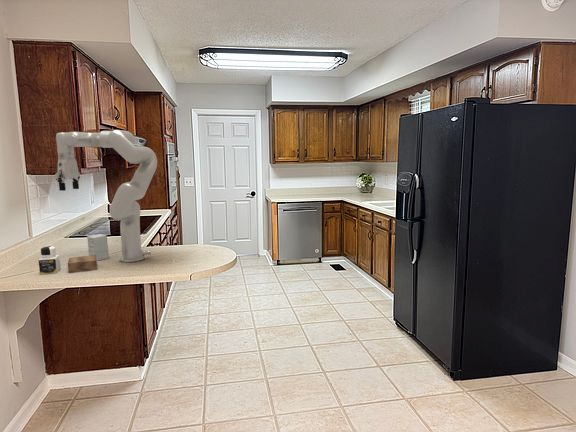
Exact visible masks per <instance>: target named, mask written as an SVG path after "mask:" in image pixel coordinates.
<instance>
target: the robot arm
mask: <svg viewBox="0 0 576 432" xmlns="http://www.w3.org/2000/svg"><path fill="white" fill-rule="evenodd" d="M55 139H56V147H57V148H56V149H57V172H56V173H55V174H54V178H55V179H56V181H57V183H58V188H59V189H58V190H59V191H66V190H67V187H66V183H65V181H66V180H72V181H71V182H72V190H79V189H80V187H79V186H80V184H79V181H80V179H81V172H79V167H78V162H77V160H76V158H75V149H74V148H81V147H82V148H103V149H106V148H108V149H109V148H110V149H111V148H112V149H113V150H114V151H115V152H116V153H117V154H119V155H120V156H121V157H122V158H123V159H124V160H125V161H126V162H128V163H130V164H132V165H133V164H134V165H136V164H139V166H138V167H137V169H136V170H135V172H134V173H133V177H132V179H131V180H130V181H127V182H124V183H121V185H120V186H119V187H118V188H117V190H116V191H115V194H114V197H113V199H112V202H111V204H110V206H109V215H110V217H111V218H112V219H113V220H114V221H120V224H119V226H120V241H121V242H120V244H121V254H122V256H121V257H119V262H123V263H135V262H139V261H140V262H141V261H143V260H145V258H146V255H152V252H151V250H143V249H142V240H141V223H140V222H141V221H140V220H141V219H140V218H141V207H140V204H139V202H137V201H138V200H141V199H143V198H144V197H145V195H146V193H147V190H148V188H149V186H150V184H151V181H152V179H153V176H154V174H155V172H156V170H157V169H158V158H157V155H156V153H155V152H154V150H153V149H151V148H150V147H147V146H142V145H137V146H136V145H135V144H134V143H135V137H134V135H133V133H132V132H130V131H128V130H122V129H121V130H120V129H113V130H101V131H100V132H83V131H69V132H64V131H63V132H62V131H61V132H57V133H56V135H55Z"/></svg>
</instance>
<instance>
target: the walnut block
mask: <svg viewBox="0 0 576 432" xmlns="http://www.w3.org/2000/svg"><path fill="white" fill-rule="evenodd" d="M97 262H98V261H97V260H96V255H91V256H89V255H83V256H76V257H69V258H68V262H67V269H68V274H72V273H73V274H74V273H81V272H91V271H97V270H98V263H97Z"/></svg>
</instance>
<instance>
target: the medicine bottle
mask: <svg viewBox="0 0 576 432" xmlns="http://www.w3.org/2000/svg"><path fill="white" fill-rule="evenodd" d="M40 256H41V257H40V258H39V259H38V267H39V274H40V275H47V274H57V273H58V272H59V271H60V270H61V269H62V268H61V259H60V255H59V254H57V250H56V247H55V246H53V245H51V246H43V247H41V248H40Z"/></svg>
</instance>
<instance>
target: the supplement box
mask: <svg viewBox="0 0 576 432" xmlns="http://www.w3.org/2000/svg"><path fill="white" fill-rule="evenodd" d="M86 238H87V246H88V247H87V248H88V256H91V255H96V260H97V262H98V261H102V260H106V259H110V258H109V257H110V255H109V244H108V235H107V234H106V235H105V234H101V233H99V234H93V235H87V236H86Z"/></svg>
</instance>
